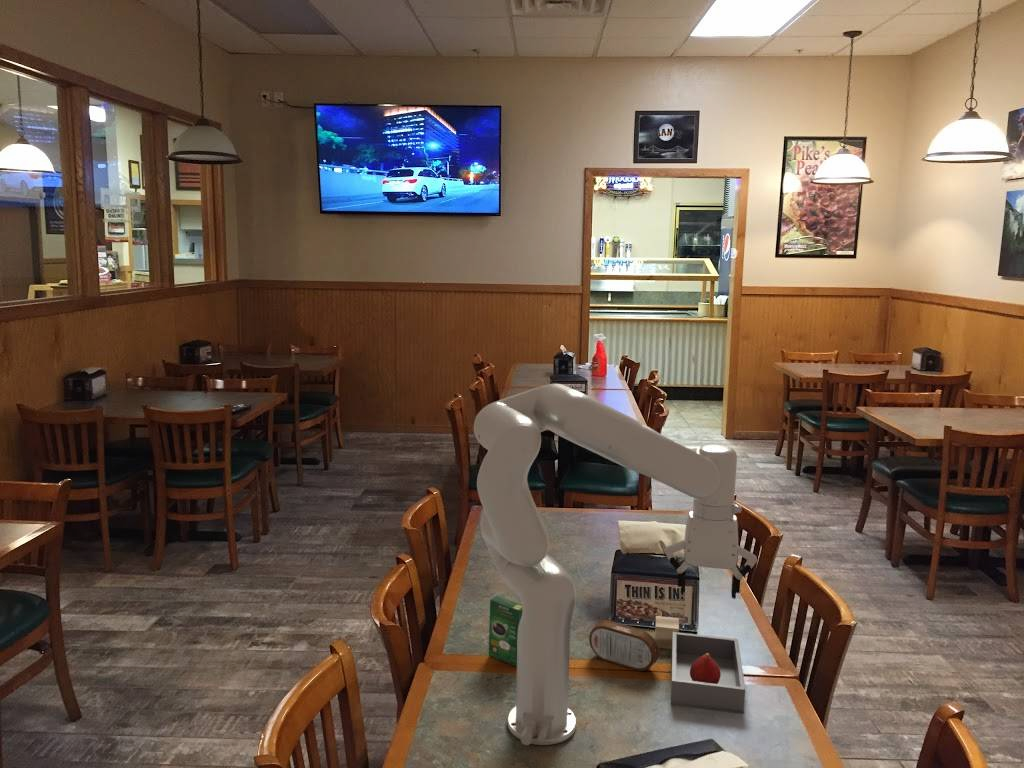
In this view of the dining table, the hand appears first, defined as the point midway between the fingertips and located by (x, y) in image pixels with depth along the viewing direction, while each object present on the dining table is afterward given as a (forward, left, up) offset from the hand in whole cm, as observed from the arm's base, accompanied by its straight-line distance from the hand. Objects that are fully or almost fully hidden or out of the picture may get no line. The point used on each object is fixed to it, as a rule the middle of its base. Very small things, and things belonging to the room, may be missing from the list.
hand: (708, 592), depth 156 cm
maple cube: (+17, +7, -20) cm, 27 cm away
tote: (+2, -1, -20) cm, 20 cm away
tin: (+6, +16, -21) cm, 27 cm away
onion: (-2, 0, -20) cm, 20 cm away
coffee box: (+2, +40, -21) cm, 45 cm away
